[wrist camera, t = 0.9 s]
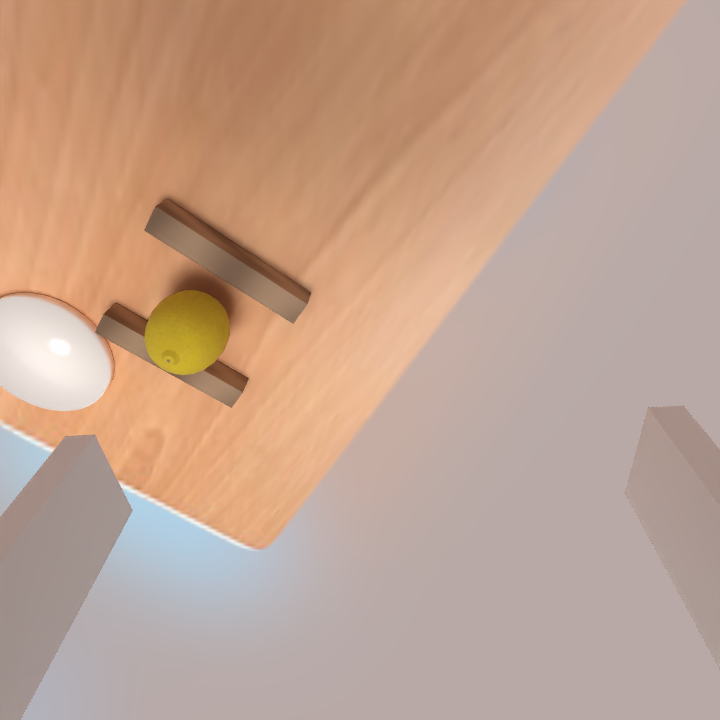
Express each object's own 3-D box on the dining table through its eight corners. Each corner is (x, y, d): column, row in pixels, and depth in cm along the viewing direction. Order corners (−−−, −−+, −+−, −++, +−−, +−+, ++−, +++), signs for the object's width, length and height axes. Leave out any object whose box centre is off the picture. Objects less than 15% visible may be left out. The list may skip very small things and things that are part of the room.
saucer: (-33, 362, 43) (-42, 369, 42) (-2, 266, 38) (-10, 271, 37) (89, 423, 46) (83, 430, 45) (133, 341, 41) (128, 347, 40)
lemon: (164, 273, 38) (115, 322, 31) (236, 274, 38) (203, 324, 31) (178, 337, 41) (137, 394, 34) (245, 338, 41) (217, 396, 34)
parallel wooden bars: (106, 320, 40) (94, 332, 39) (167, 198, 35) (155, 206, 33) (237, 393, 44) (231, 407, 42) (310, 292, 38) (307, 304, 36)
